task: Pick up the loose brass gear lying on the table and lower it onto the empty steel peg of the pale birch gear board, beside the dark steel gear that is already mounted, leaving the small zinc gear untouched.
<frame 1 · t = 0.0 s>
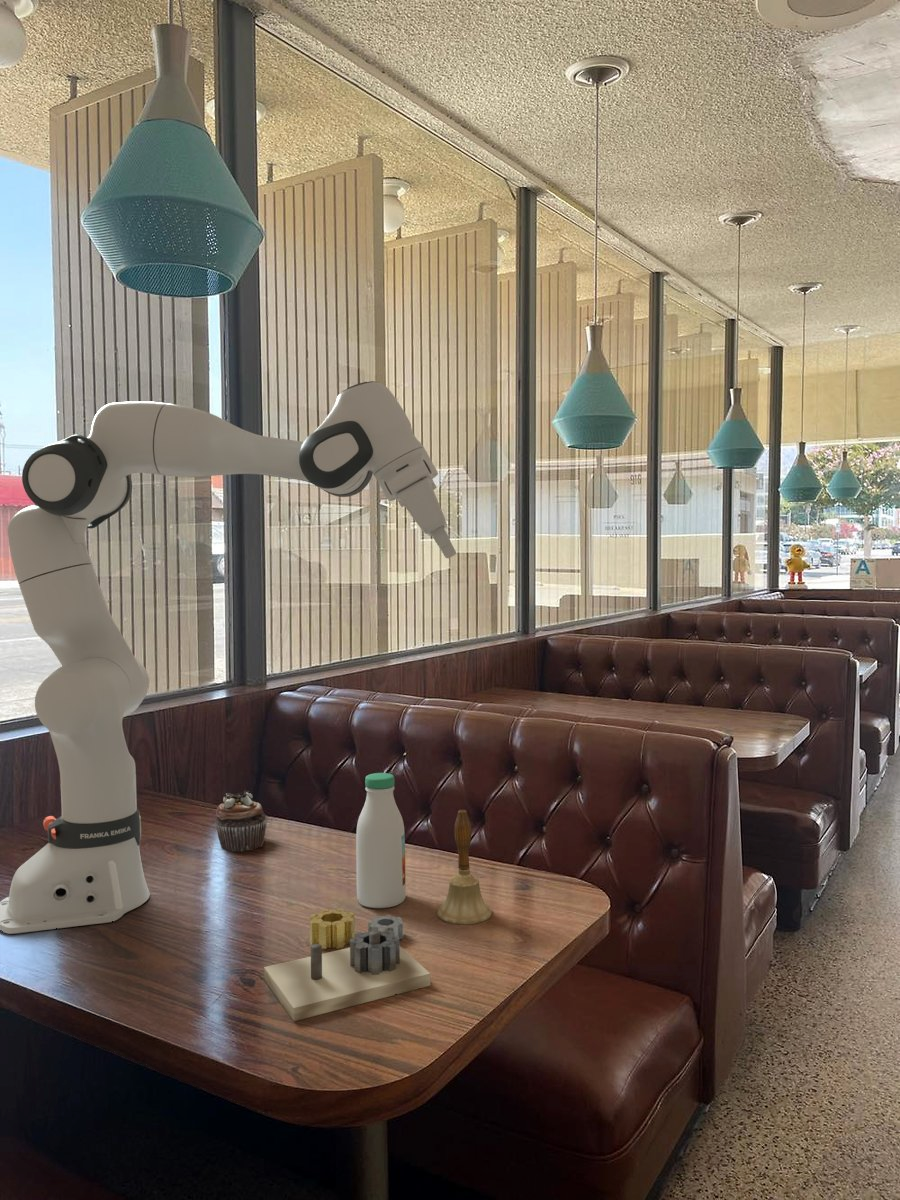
hand: (452, 556, 140), 54 cm above the table, tool tilted 30°, fingers open, 8 cm apart
brass gear: (332, 939, 128), on the table
milk bottle: (381, 901, 143), on the table
cupcake: (242, 845, 171), on the table
zinc gear: (385, 937, 129), on the table
hand bell: (464, 914, 137), on the table
gear board: (346, 982, 116), on the table
steel gear: (375, 963, 117), resting on gear board
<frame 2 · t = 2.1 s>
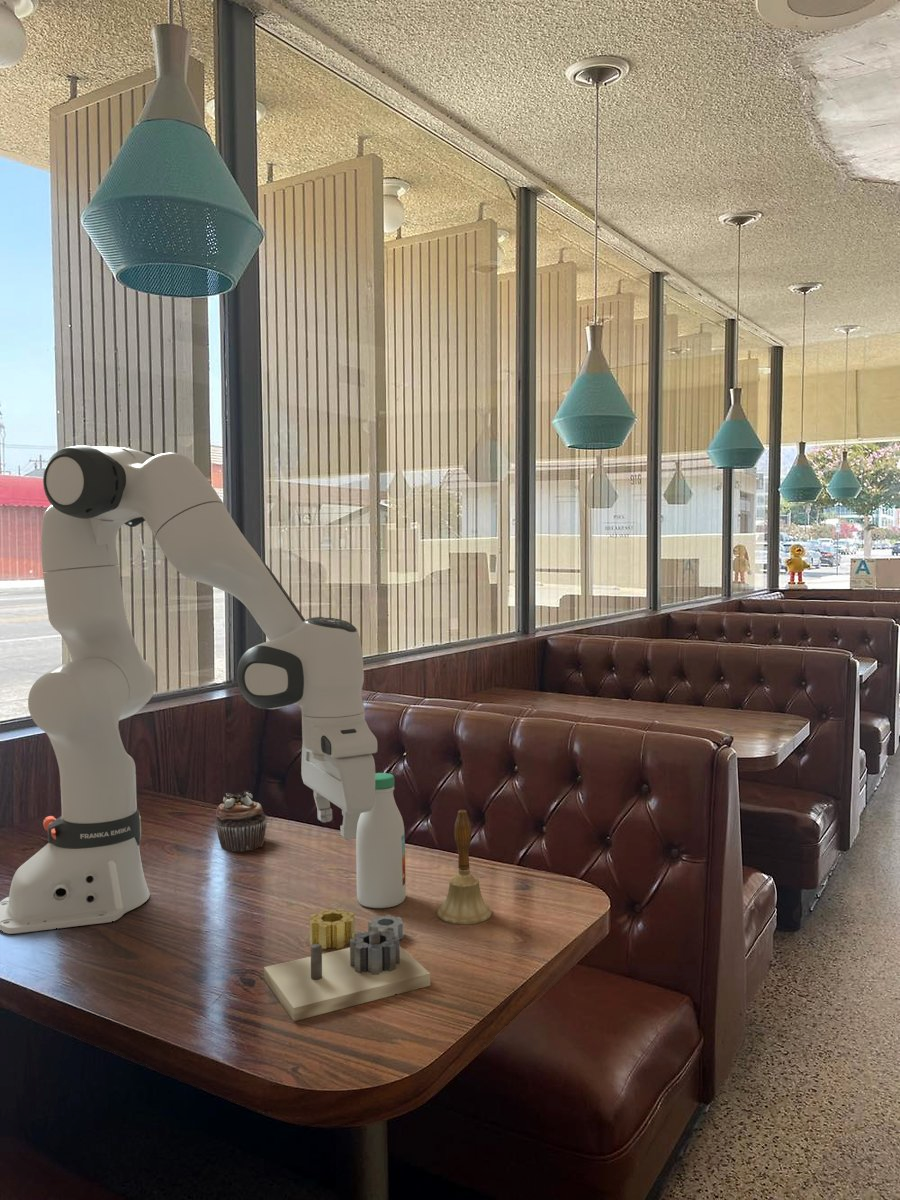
hand: (336, 829, 128), 16 cm above the table, tool pointing down, fingers open, 8 cm apart
nothing on the table moved.
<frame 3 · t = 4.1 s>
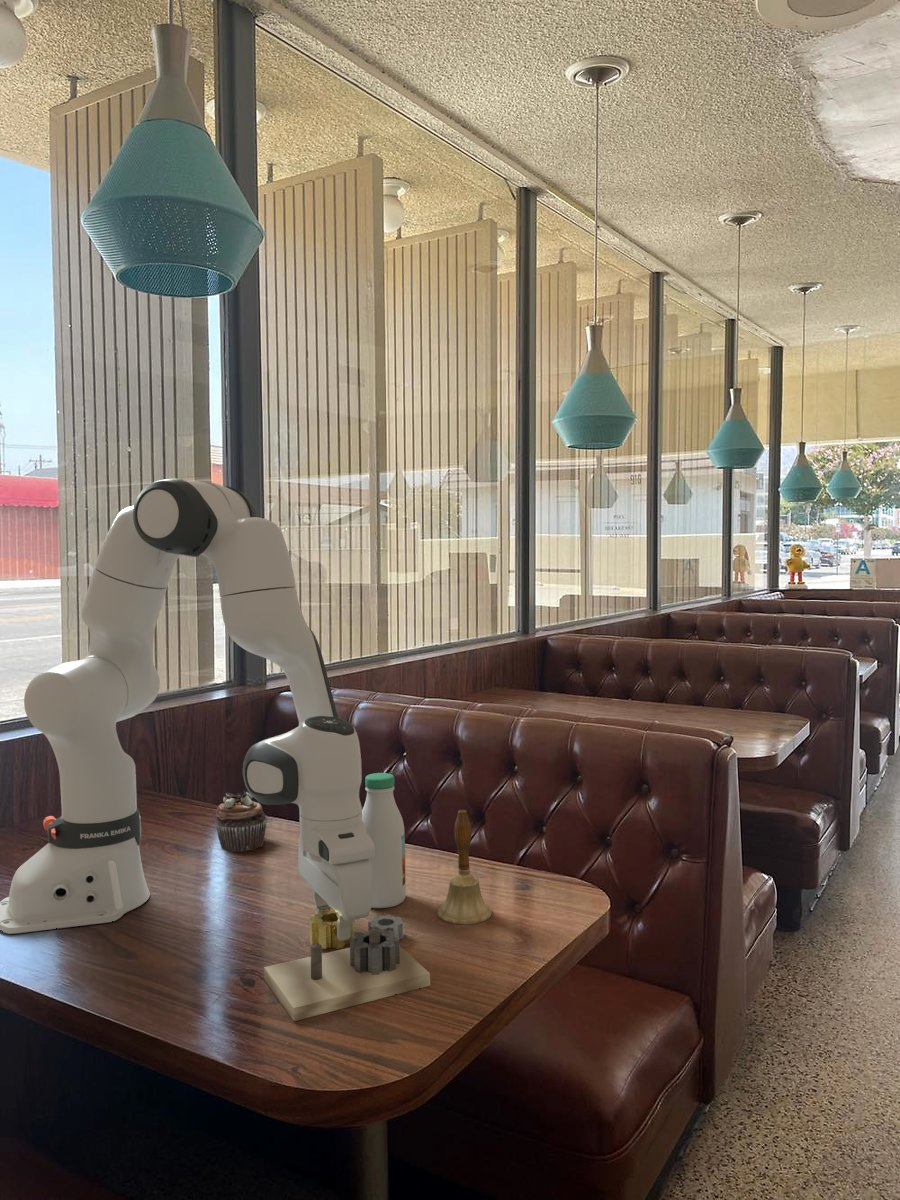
hand: (332, 928, 128), 2 cm above the table, tool pointing down, fingers closed on brass gear, 6 cm apart
brass gear: (332, 939, 128), on the table, touching gripper
everything else where it was.
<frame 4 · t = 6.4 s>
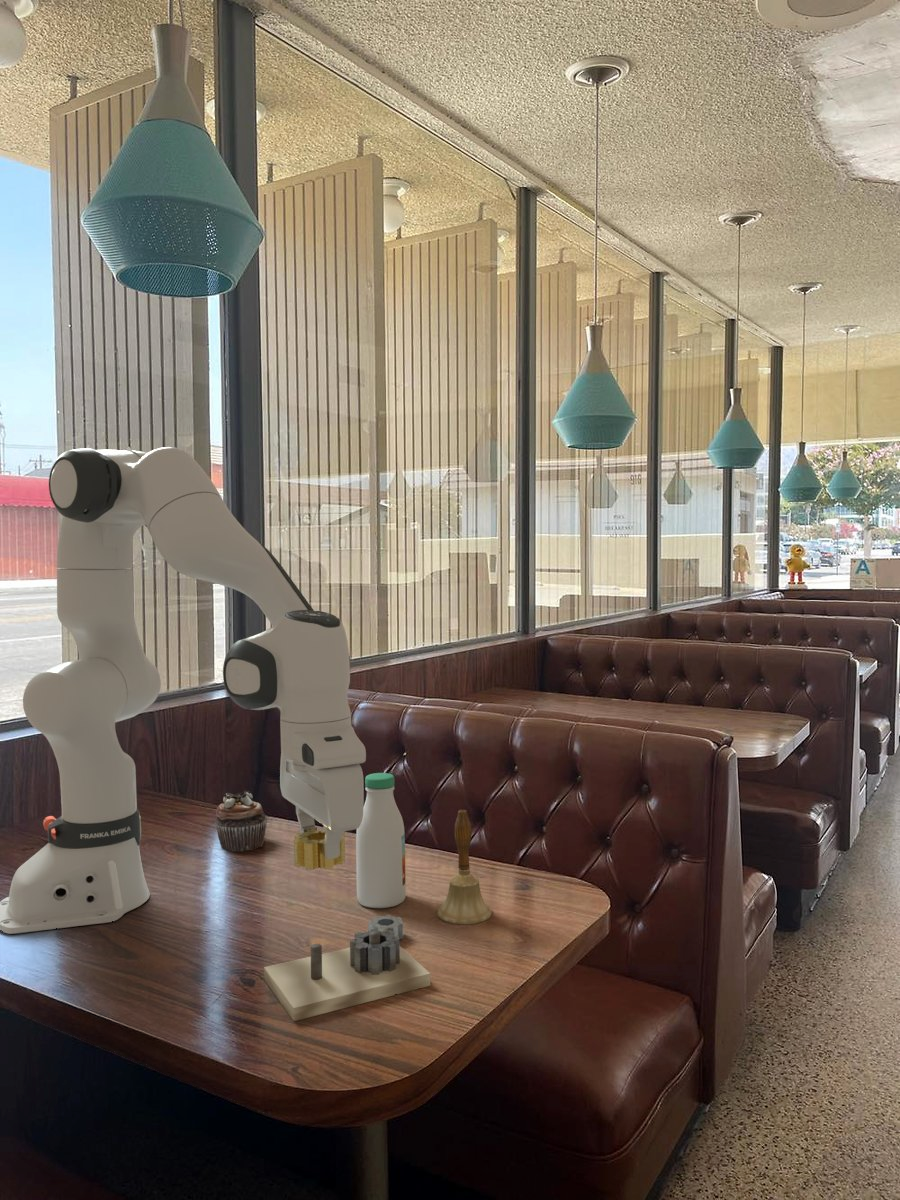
hand: (319, 848, 114), 18 cm above the table, tool pointing down, fingers closed on brass gear, 6 cm apart
brass gear: (320, 861, 114), point 16 cm above the table, touching gripper
everything else where it was.
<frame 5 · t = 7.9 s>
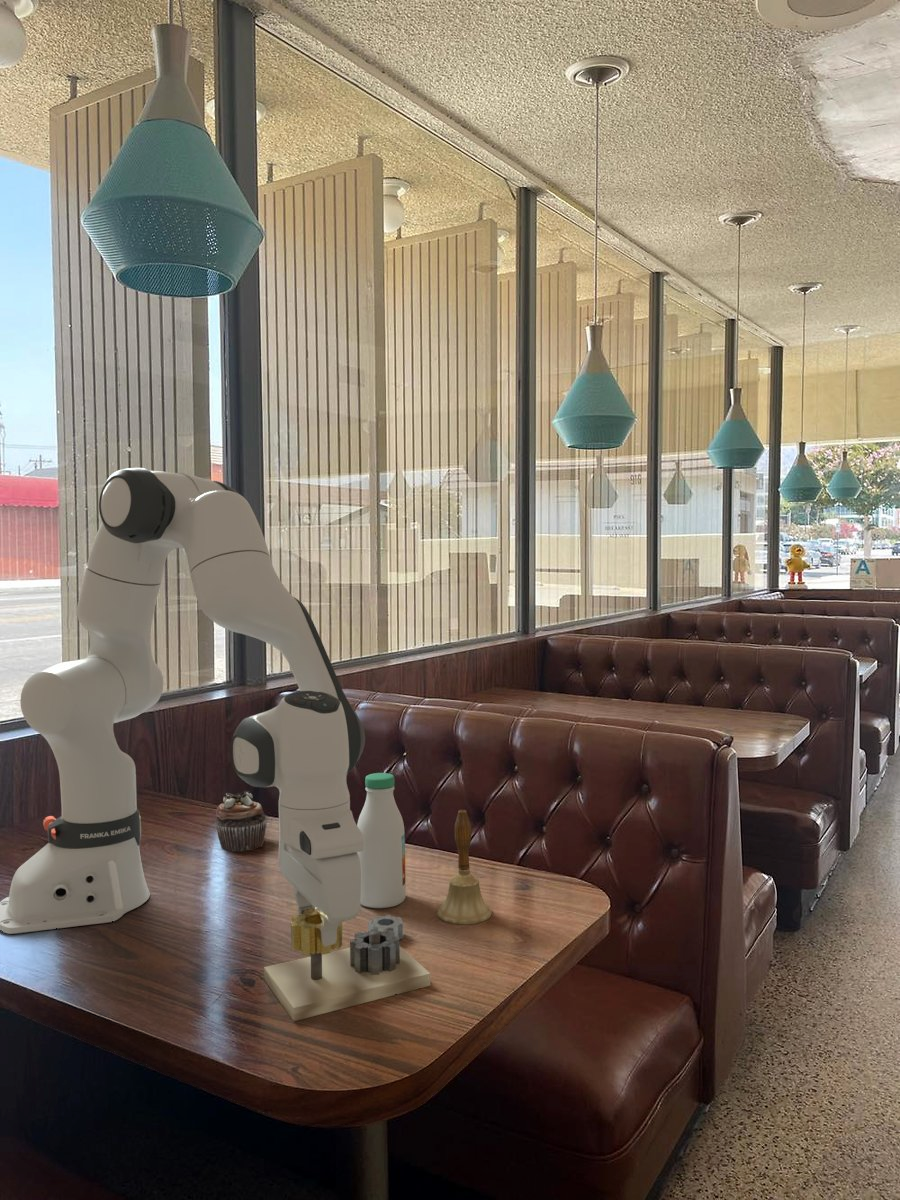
hand: (316, 931, 113), 8 cm above the table, tool pointing down, fingers closed on brass gear, 6 cm apart
brass gear: (317, 944, 113), point 6 cm above the table, touching gripper
everything else where it was.
when the fingers open (5 cm above the table, at t = 8.9 s): brass gear drops 1 cm, resting on gear board.
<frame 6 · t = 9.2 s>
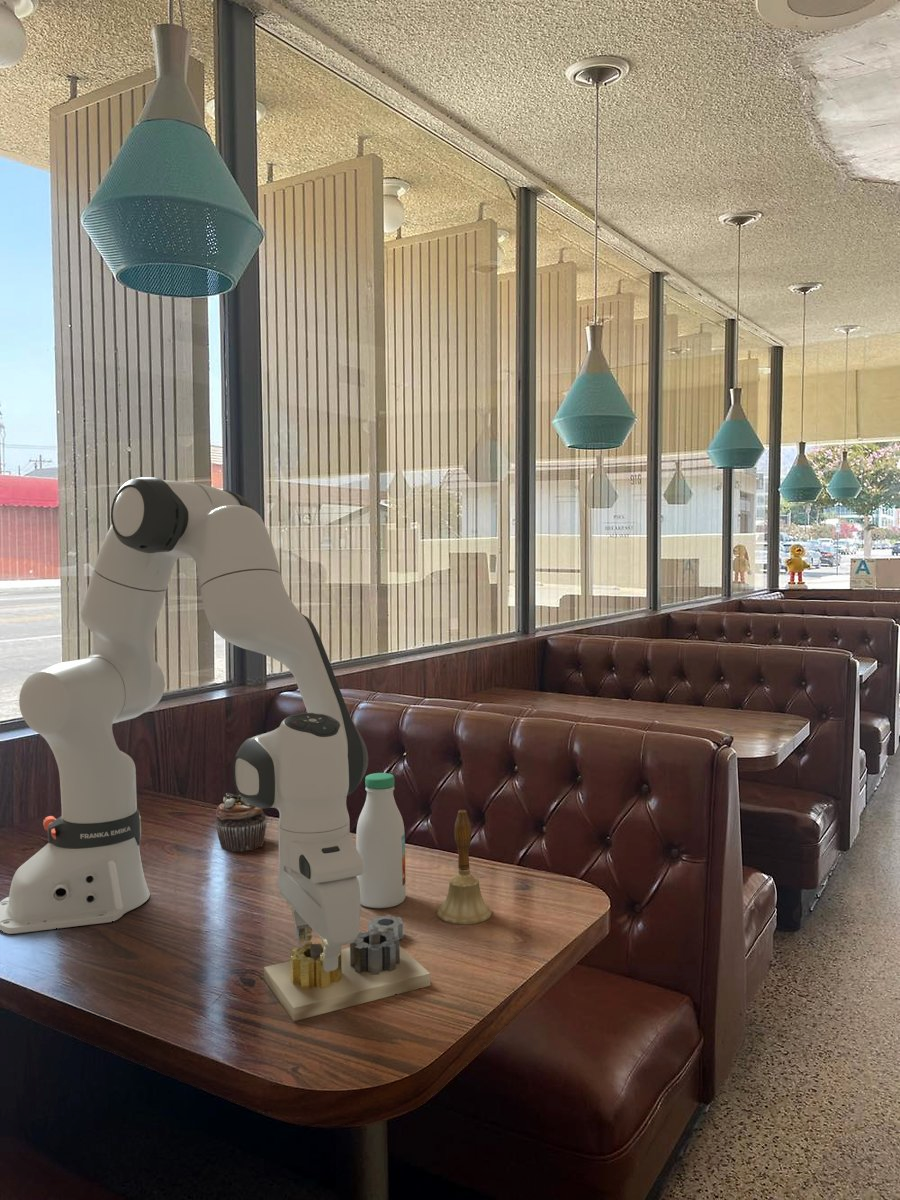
hand: (316, 953, 113), 5 cm above the table, tool pointing down, fingers open, 8 cm apart
brass gear: (316, 977, 114), point 2 cm above the table, touching gear board
everything else where it was.
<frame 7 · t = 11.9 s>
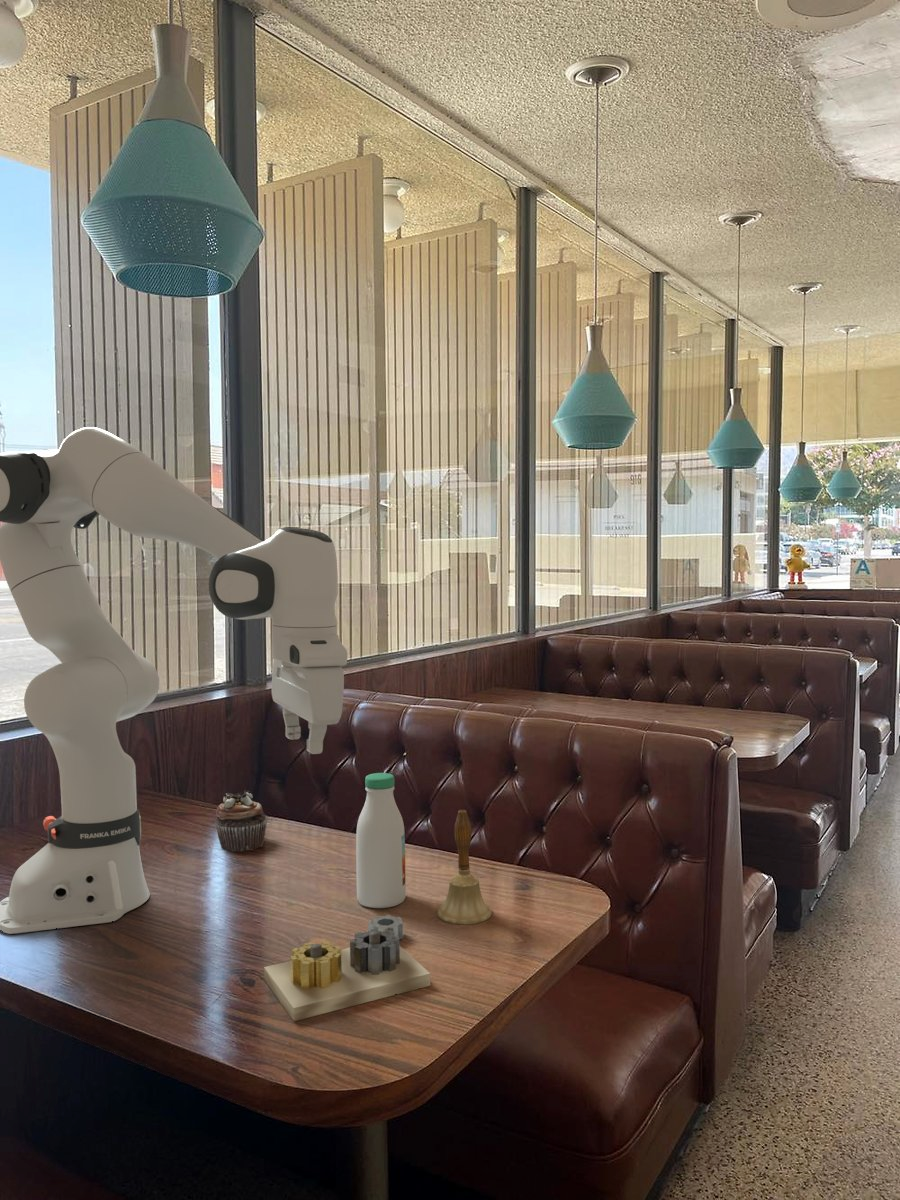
hand: (303, 745, 125), 28 cm above the table, tool pointing down, fingers open, 8 cm apart
nothing on the table moved.
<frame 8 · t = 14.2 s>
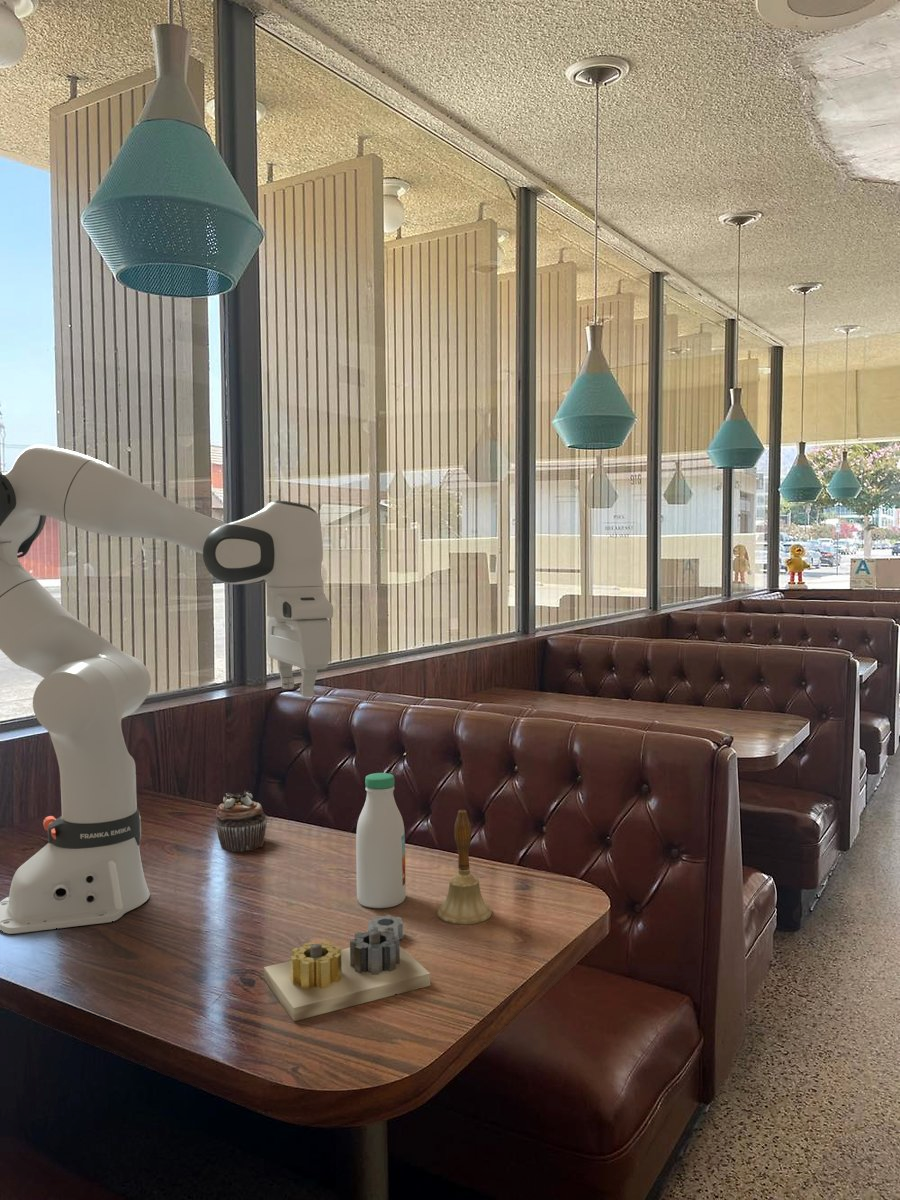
hand: (297, 692, 142), 33 cm above the table, tool pointing down, fingers open, 8 cm apart
nothing on the table moved.
at the end: brass gear 0.0 cm from the target spot on the gear board, point 1.6 cm above the gear board's base; brass gear tilted 0°; the gripper is holding nothing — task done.
